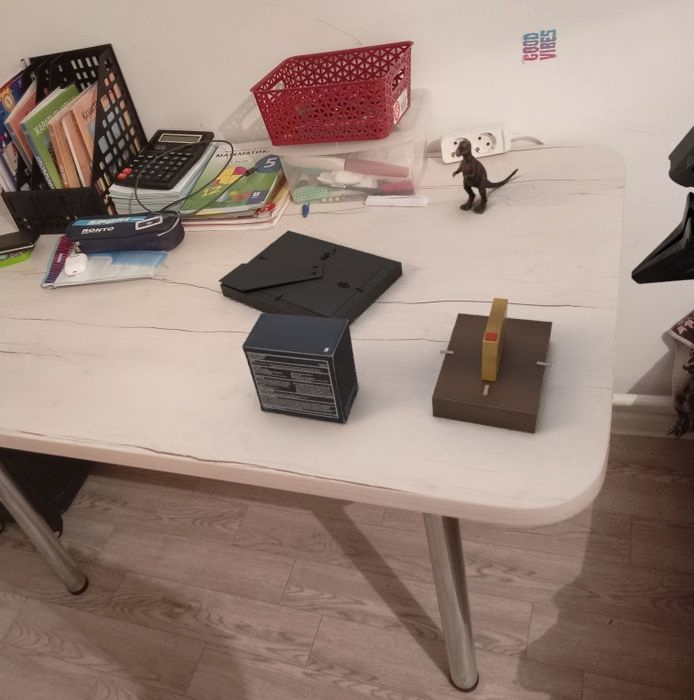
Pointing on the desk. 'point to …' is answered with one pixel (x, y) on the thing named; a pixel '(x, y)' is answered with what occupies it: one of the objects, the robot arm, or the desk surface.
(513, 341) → the plate
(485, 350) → the yellow rectangular slab
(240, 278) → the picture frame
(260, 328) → the small box
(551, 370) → the desk surface
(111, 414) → the desk surface
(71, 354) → the desk surface
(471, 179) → the dinosaur model
